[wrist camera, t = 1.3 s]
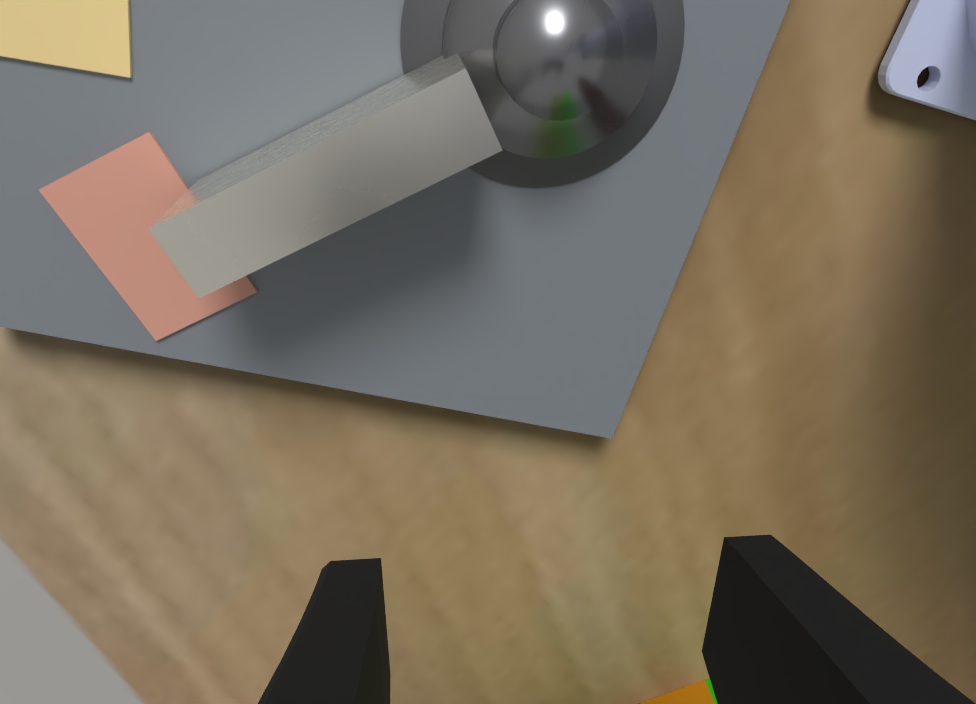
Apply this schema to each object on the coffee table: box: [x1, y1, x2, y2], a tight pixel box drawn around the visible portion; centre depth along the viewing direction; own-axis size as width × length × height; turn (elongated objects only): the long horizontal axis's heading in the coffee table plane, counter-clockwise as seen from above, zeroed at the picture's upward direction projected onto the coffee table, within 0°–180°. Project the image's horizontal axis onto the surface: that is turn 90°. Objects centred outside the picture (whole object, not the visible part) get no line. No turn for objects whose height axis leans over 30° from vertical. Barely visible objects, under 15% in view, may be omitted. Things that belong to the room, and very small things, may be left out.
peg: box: [148, 0, 657, 299], centre depth 13 cm, size 10×4×3 cm, turn 115°
